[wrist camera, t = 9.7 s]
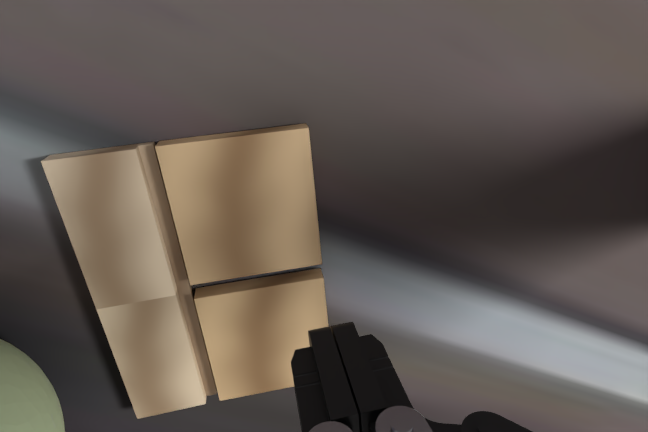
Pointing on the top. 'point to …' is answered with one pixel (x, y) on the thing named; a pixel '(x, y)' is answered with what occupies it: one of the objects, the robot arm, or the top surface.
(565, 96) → the top surface
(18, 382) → the toy
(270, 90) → the top surface
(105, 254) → the laid strip
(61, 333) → the top surface
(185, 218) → the plank near
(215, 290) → the plank far
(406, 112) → the top surface
